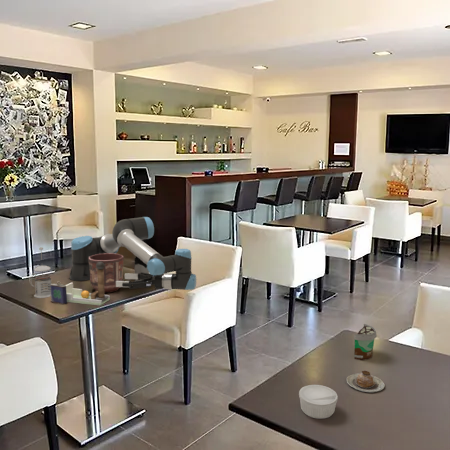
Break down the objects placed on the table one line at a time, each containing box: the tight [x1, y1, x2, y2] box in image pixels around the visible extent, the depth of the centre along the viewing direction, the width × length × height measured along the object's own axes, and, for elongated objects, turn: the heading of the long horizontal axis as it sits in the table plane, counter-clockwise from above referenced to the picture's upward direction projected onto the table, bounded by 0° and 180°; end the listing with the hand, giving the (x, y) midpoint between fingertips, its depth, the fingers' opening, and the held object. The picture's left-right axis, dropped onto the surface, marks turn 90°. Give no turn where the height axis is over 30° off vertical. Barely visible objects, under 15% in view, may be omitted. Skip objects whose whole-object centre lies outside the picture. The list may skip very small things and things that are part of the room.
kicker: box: [91, 262, 108, 301], centre depth 235 cm, size 6×6×19 cm
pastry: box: [346, 370, 386, 393], centre depth 157 cm, size 12×12×5 cm
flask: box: [50, 280, 68, 305], centre depth 235 cm, size 9×3×11 cm, turn 65°
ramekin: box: [298, 384, 338, 420], centre depth 141 cm, size 11×11×5 cm
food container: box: [353, 323, 378, 361], centre depth 177 cm, size 12×6×10 cm, turn 148°
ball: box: [81, 290, 90, 299], centre depth 239 cm, size 4×4×4 cm
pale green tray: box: [65, 281, 111, 306], centre depth 238 cm, size 9×22×7 cm, turn 74°
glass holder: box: [134, 256, 150, 281], centre depth 267 cm, size 9×14×15 cm, turn 162°
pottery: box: [88, 253, 125, 294], centre depth 255 cm, size 18×18×18 cm
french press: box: [28, 246, 52, 299], centre depth 245 cm, size 10×12×25 cm
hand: (120, 279), depth 234 cm, fingers open, 13 cm apart
